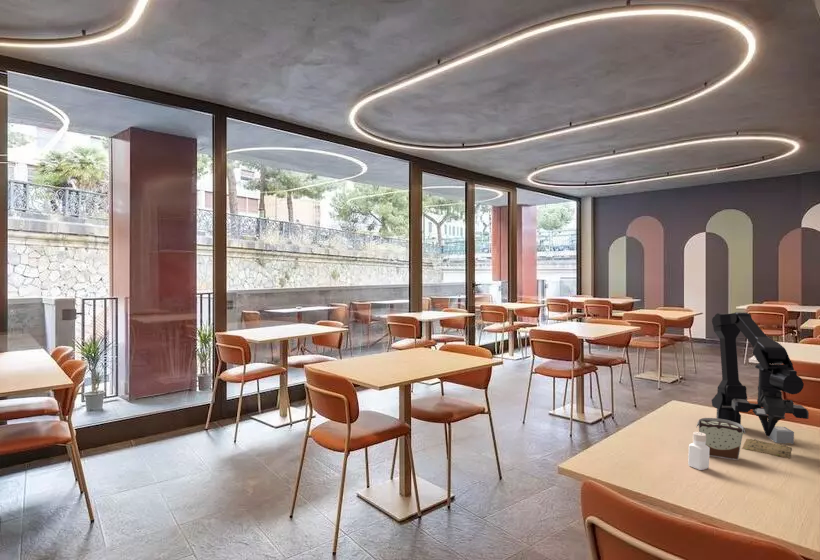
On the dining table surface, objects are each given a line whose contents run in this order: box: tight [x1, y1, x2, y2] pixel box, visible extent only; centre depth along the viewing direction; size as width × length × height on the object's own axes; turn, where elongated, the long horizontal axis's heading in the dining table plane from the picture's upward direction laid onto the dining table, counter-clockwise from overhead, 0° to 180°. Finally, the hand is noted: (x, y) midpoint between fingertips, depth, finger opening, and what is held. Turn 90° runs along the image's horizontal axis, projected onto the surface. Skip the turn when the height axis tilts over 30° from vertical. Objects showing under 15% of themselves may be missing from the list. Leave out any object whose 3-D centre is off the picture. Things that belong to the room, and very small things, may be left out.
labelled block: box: [767, 425, 795, 445], centre depth 162 cm, size 5×5×4 cm
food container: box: [695, 417, 746, 461], centre depth 150 cm, size 12×6×10 cm, turn 65°
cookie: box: [741, 438, 793, 460], centre depth 155 cm, size 12×12×1 cm
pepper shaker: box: [687, 431, 710, 471], centre depth 139 cm, size 4×4×10 cm
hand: (767, 435), depth 155 cm, fingers closed
